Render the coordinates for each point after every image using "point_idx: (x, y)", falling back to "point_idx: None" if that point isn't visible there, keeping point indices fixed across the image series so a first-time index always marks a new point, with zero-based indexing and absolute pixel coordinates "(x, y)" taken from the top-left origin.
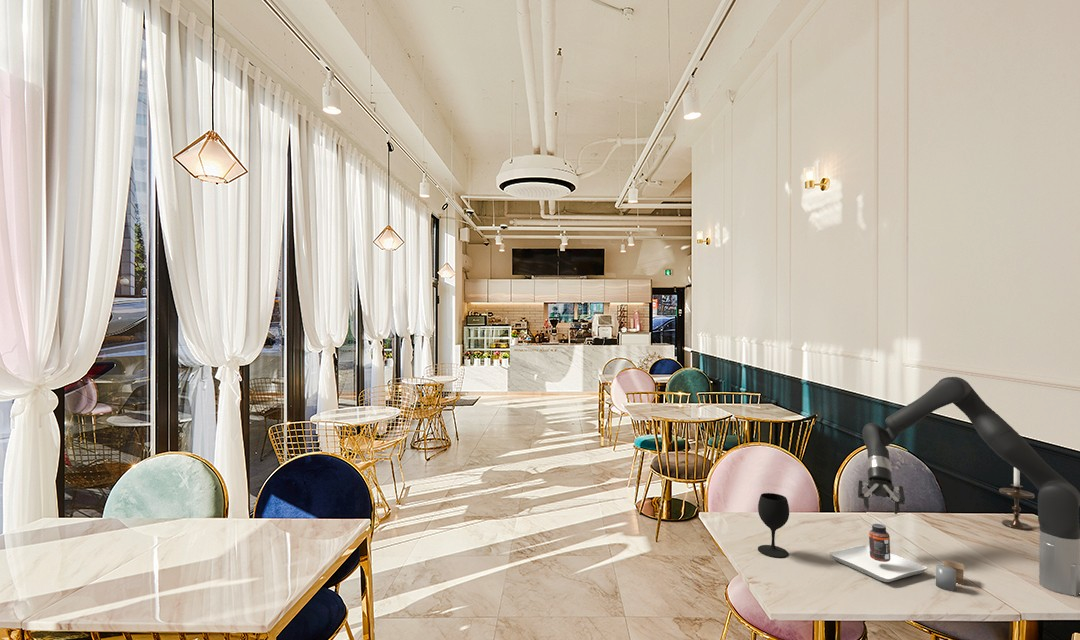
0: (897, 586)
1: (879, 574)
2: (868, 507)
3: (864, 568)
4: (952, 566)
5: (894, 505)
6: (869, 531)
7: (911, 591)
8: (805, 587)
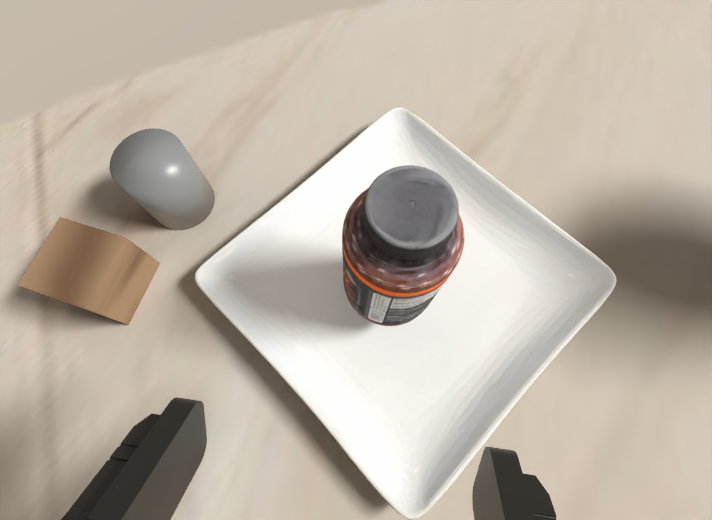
0: None
1: None
2: (488, 449)
3: None
4: (89, 238)
5: (154, 490)
6: (463, 243)
7: (323, 122)
8: (653, 25)
